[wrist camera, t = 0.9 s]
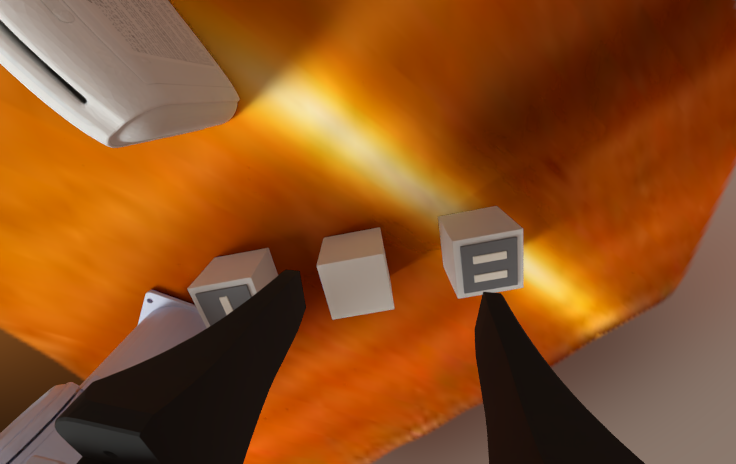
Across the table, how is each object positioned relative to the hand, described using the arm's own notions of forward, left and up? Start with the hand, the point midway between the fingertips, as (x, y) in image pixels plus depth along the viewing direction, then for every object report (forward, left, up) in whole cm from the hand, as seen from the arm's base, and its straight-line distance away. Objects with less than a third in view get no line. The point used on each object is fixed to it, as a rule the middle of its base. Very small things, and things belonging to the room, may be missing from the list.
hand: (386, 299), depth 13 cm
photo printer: (+3, +17, -15) cm, 23 cm away
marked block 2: (0, -9, -15) cm, 18 cm away
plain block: (-6, -1, -15) cm, 16 cm away
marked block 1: (-12, +7, -15) cm, 20 cm away
